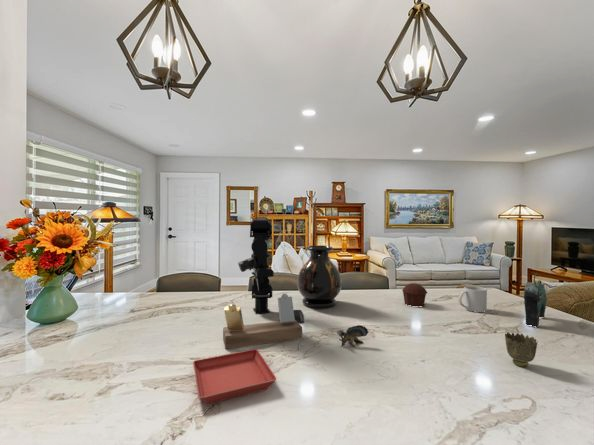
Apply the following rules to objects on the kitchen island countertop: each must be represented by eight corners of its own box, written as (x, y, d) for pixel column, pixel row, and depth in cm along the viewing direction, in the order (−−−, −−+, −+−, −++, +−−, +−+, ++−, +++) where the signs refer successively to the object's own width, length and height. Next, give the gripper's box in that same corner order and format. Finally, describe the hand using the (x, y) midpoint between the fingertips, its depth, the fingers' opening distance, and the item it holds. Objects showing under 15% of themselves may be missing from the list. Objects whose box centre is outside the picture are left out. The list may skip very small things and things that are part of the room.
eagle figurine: (354, 350, 90) (373, 338, 95) (342, 327, 93) (362, 317, 98) (341, 354, 96) (360, 343, 101) (331, 333, 99) (349, 323, 104)
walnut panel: (223, 339, 101) (223, 327, 101) (294, 330, 109) (294, 319, 109) (225, 348, 93) (225, 336, 93) (302, 338, 102) (302, 327, 101)
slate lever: (279, 323, 104) (276, 294, 108) (293, 321, 106) (289, 293, 110) (281, 322, 102) (278, 293, 106) (295, 320, 104) (291, 292, 108)
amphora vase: (344, 311, 132) (345, 249, 131) (296, 310, 132) (297, 248, 132) (338, 298, 153) (338, 244, 153) (297, 297, 154) (297, 244, 153)
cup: (539, 374, 79) (539, 344, 79) (505, 367, 83) (506, 338, 83) (534, 363, 85) (535, 335, 85) (503, 356, 89) (504, 330, 89)
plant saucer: (198, 412, 63) (198, 397, 63) (192, 372, 80) (192, 360, 80) (277, 392, 70) (277, 379, 70) (257, 359, 87) (257, 348, 87)
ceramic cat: (539, 330, 111) (540, 277, 110) (518, 325, 116) (519, 274, 115) (549, 318, 124) (550, 271, 124) (530, 314, 129) (530, 269, 128)
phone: (301, 309, 131) (303, 321, 116) (301, 312, 131) (303, 324, 116) (283, 309, 131) (284, 321, 116) (283, 312, 131) (284, 324, 116)
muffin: (400, 300, 150) (400, 281, 149) (422, 301, 148) (423, 281, 148) (405, 307, 138) (405, 286, 138) (430, 308, 136) (430, 287, 136)
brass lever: (230, 325, 99) (225, 302, 95) (244, 326, 98) (240, 302, 94) (227, 330, 97) (222, 307, 93) (242, 331, 96) (238, 308, 92)
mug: (486, 308, 136) (486, 287, 136) (486, 314, 128) (486, 291, 128) (459, 305, 142) (460, 284, 142) (458, 310, 134) (458, 288, 134)
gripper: (236, 249, 121) (236, 287, 121) (243, 255, 103) (243, 299, 103) (262, 248, 124) (262, 285, 125) (274, 253, 107) (273, 296, 107)
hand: (260, 291), depth 115 cm, fingers closed
